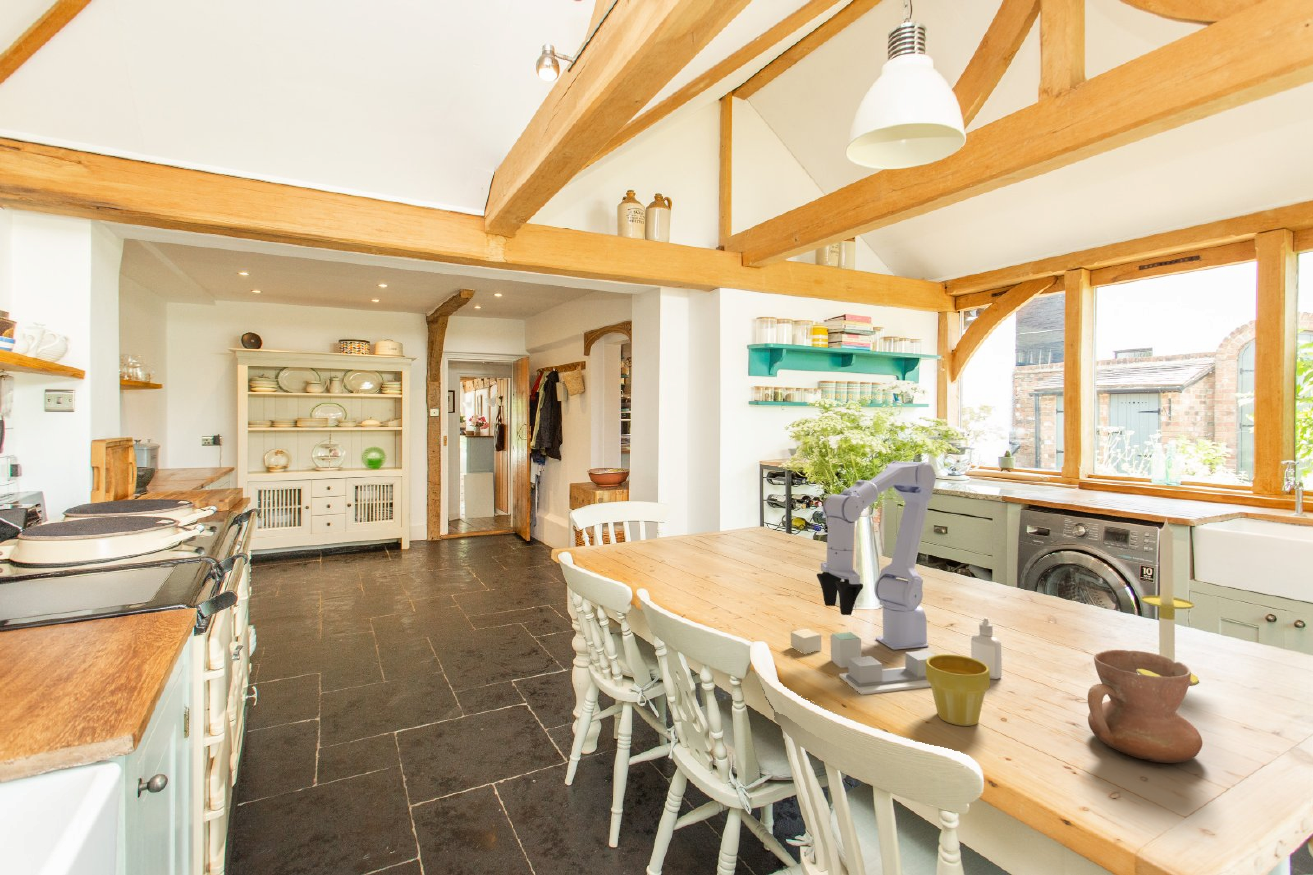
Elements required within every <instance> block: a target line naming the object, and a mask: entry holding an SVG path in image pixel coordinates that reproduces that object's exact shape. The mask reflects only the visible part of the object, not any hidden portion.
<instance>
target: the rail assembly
mask: <svg viewBox="0 0 1313 875" xmlns="http://www.w3.org/2000/svg"><path fill="white" fill-rule="evenodd" d="M934 655H935V654H934V653H932V652H930V651H928V650H926V649H925V650H915V651H906V652H905V654H904V656H905V657H904V660H905V662H904V664H905V666H901V667H894V668H893V667H892V668H883V663H881V662H880V661H879V660H878V659H876V658H875V657H873V656H872V655H867V656H861V657H855V658H849V667H848V672H844V673H839V674H838V675H839V676H838V677H839V678H841V680H842V681H844V682H845V683H846V682H847V683H848V684H847V683H846V684H847V685H848V686H850V687H851V688H852V687H853V688H854V691H856V692H857V691H858V692H857V693H858V694H859V693H860V696H864V695H872V694H880V693H888V692H891V693H892V692H897V691H905V690H915V689H925V688H931V684H930V683H929V682H928V681H927V678H926V660H927V658H929V657H931V656H934Z"/></svg>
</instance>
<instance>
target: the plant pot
mask: <svg viewBox="0 0 1313 875" xmlns="http://www.w3.org/2000/svg"><path fill="white" fill-rule="evenodd" d="M926 678H927V681H928V682H929V683H930V684H931V687H930V688H931V691H932V696H933V699H934V705H935V709H936V713H937V715H938V717H939V718H940V719H941V720H942V721H944V722H946V723H948V724H952V725H955V726H959V727H960V726H961V727H969V726H975V725H977V724H978V723H979V721H980V716H981V711H982V707H983V702H984V699H985V693H986V691H987V690H989V689H990V681H991V679H990V670H989V667H988V666H987V665H986V664H984V663H983V662H981V661H978V660H976V659H973V658H971V657H969V656H965V655H958V654H936V655H935V654H934V656H931V657H929V658H927V660H926Z"/></svg>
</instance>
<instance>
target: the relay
mask: <svg viewBox="0 0 1313 875" xmlns="http://www.w3.org/2000/svg"><path fill="white" fill-rule="evenodd" d="M791 646H792V647H793V648H795V649H796V650H799V651H801V652H802V653H804V654H805V655H808V654H807V653H810V654H812V653H811V652H814V651H819V650H821V651H822V634H821V633H818V632H816V631H814V630H812V629H809V628H804V629H798V630H793V631H790V647H791ZM796 650H795V651H796ZM819 652H820V651H819ZM802 653H801V654H802ZM814 653H815V652H814ZM804 654H803V655H804Z"/></svg>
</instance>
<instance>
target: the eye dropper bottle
mask: <svg viewBox="0 0 1313 875" xmlns="http://www.w3.org/2000/svg"><path fill="white" fill-rule="evenodd" d="M982 620H983V621H982V622H981V623H978V624H979V629H978V630H979V631H978V632H979V633H976V634H974V635H972V636H971V639H970V640H971V641H970V642H971V643H970V645H971V646H970V648H971V649H970V650H971V653H970V654H971V655H970V656H971V657H970V658H973V659H976V660H978V661H981V662H983V663H984V664H986V665H987V666H988V667H989V670H990V680H998V679H1001V678H1002V676H1003V675H1002V674H1003V673H1002V672H1003V671H1002V667H1003V666H1002V665H1003V664H1002V662H1003V661H1002V659H1003V658H1002V642H1001V640H999V639H998V638H997V637H995V636H993V630H994V629H993V624H991V623H990V622H989V619H988V617H983V619H982Z"/></svg>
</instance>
